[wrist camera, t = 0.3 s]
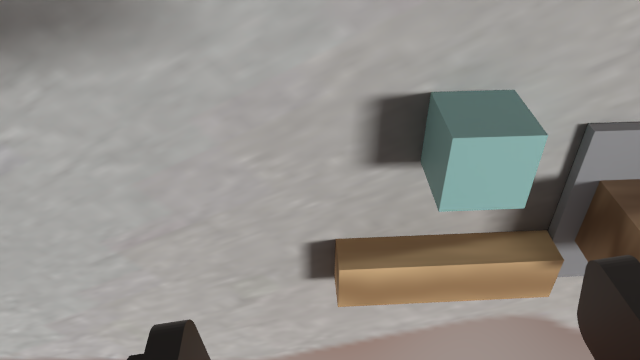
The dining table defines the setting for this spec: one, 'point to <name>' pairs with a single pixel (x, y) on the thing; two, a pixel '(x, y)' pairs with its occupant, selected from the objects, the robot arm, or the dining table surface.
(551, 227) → the board
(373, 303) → the plank
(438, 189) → the cube
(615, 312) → the robot arm
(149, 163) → the dining table surface
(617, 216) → the pillar
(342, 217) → the dining table surface
